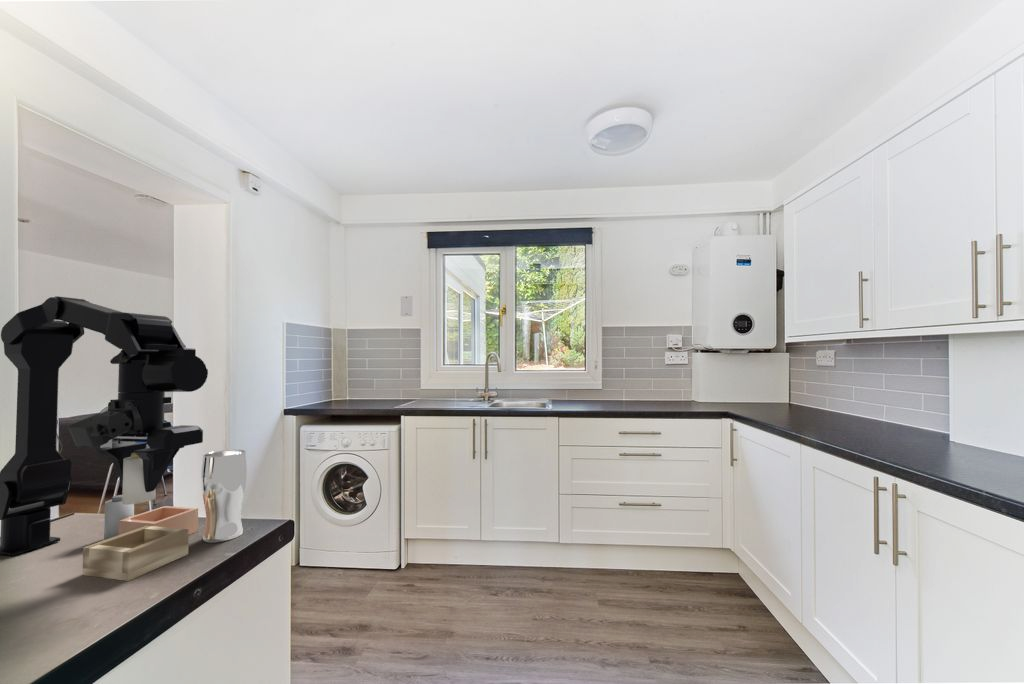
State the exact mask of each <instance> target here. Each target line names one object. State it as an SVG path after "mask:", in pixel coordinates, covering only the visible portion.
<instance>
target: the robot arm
mask: <svg viewBox="0 0 1024 684" xmlns="http://www.w3.org/2000/svg"><path fill="white" fill-rule="evenodd" d="M172 323H173V321H172V320H171V319H170V318H169V317H168V316H164V315H156V314H155V315H154V314H143V313H133V312H122V311H119V310H117V309H116V310H115V309H112V308H109V307H107V306H103V305H100V304H99V305H98V304H95V303H93V302H90V301H88V300H86V299H84V298H76V297H66V296H58V295H57V296H53V297H52V296H51V297H48V298H46V299H45V301H44V302H42V303H41V304H38V305H36V306H33V307H30V308H27V309H25V310H22V311H19V312H17V313H15V315H14V316H13V317H11V318H10V319H9V320H8V321H6V323H5V324H4V325H3V327H2V328H1V330H0V339H1V341H2V343H3V350H4V351H3V353H4V355H5V357H7V359H8V360H9V361H10V362H11V363H12V365H14V367H16V369H17V389H16V392H17V393H16V420H15V424H16V425H15V443H14V444H15V447H14V449H15V450H14V454H13V455H12V457H11V458H10V459H9V460H8V461H7V463H6V464H5V465H4V466H3V468H2V469H1V470H0V555H4V556H16V555H20V554H23V553H26V552H29V551H32V550H34V549H38V548H41V547H45V546H47V545H48V546H49V545H50V544H54V543H57V542H60V541H61V537H59V536H51V525H52V524H51V523H52V522H51V520H52V519H51V512H52V511H51V510H52V509H51V508H53V507H58V506H63V505H66V502H67V499H68V496H69V493H70V489H71V486H72V483H73V479H72V478H73V477H72V465H73V464H72V463H73V462H72V461H71V459H70V458H64V456H63V455H62V454H61V453H60V452H59V451H58V449H57V443H58V442H57V437H58V433H57V432H58V409H59V408H58V407H59V406H58V405H59V403H58V402H59V400H58V399H59V398H58V397H59V372H60V368H61V367H62V366H63V364H64V363H65V362H66V361H67V360H68V359H69V358H70V357H71V355H72V353H73V348H74V343H76V342H77V341H78V340H79V339H80V338H81V337H82V336H84V335H85V329H87V330H91V331H94V332H96V333H100V334H102V335H104V340H105V341H106V342H107V343H109V344H111V345H112V346H114V347H116V348H118V349H120V350H121V351H120V352H119V353H118V354H116V355H115V356H113V357H112V358H111V359H110V361H109V362H110V364H112V365H118V379H117V380H118V381H117V382H118V385H117V398H116V399H110V401H109V402H108V403H107V410H105V411H102V412H100V413H97V414H94V415H91V416H89V417H86V418H84V419H82V420H79V421H77V422H74V423H72V424H70V425H68V426H67V428H68V430H69V433H70V435H71V437H72V440H73V443H74V445H75V447H85V448H86V447H89V448H94V451H95V452H96V453H101V454H102V455H103V456H105V457H107V458H109V459H110V460H111V462H112V464H113V466H114V468H115V471H116V473H117V476H118V479H119V480H120V483H121V486H122V487H123V459H124V458H127V457H131V453H135V454H137V455H138V456H139V457H140V458H141V459H142V460H143V473H144V485H145V491H146V492H151V491H154V490H155V488H156V489H157V487H158V486H159V485H158V484H159V483H160V481H161V480H162V478H163V477H164V475H165V473H166V471H167V469H168V467H169V466H170V464H171V463H172V461H173V460H174V458H175V456H176V455H177V454H178V452H179V451H180V449H183V448H185V447H186V446H192V445H196V444H202V443H203V442H204V430H203V429H202V428H201V427H200V426H199V425H189V424H188V425H182V424H181V425H173V426H172V425H171V424H172V422H171V421H165V405H167V404H171V403H172V397H171V396H165V395H166V393H178V392H179V393H180V392H181V393H182V392H183V393H186V392H187V393H188V392H189V393H191V392H195V391H197V390H200V389H202V387H203V386H204V384H205V383H206V382H207V378H208V374H209V370H208V368H207V366H206V363H205V362H204V361H203V359H201V358H200V357H199V356H196V355H197V354H196V351H197V349H196V348H194V347H186V345H185V343H184V342H183V340H182V338H181V336H180V335H179V334H178V332H177V329H176V328H175V327H174V325H173V324H172ZM97 447H98V448H97Z"/></svg>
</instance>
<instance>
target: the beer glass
mask: <svg viewBox="0 0 1024 684" xmlns="http://www.w3.org/2000/svg"><path fill="white" fill-rule="evenodd" d="M246 452H247V451H246V450H245V449H226V450H225V449H224V450H218V451H217V450H216V451H211V452H210V451H209V452H207V453H204V454H203V455H202V464H201V475H200V488H201V496H202V501H203V505H204V511H205V528H204V531H203V535H202V540H203V542H205V543H208V544H209V543H210V544H214V543H221V542H222V543H223V542H226V541H230V540H234V539H236V538H239V537H240V536H241V535H243V532H244V529H243V524H242V517H241V515H242V513H241V512H242V504H243V500H244V496H245V492H246V485H247V474H248V473H247V455H246Z"/></svg>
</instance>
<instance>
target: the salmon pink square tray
mask: <svg viewBox="0 0 1024 684" xmlns="http://www.w3.org/2000/svg"><path fill="white" fill-rule="evenodd" d="M144 526H156V527H167V528H178V529H189V535H192V534H194V533H197V532H198V531H199V528H198V527H199V508H196V507H195V508H194V507H187V506H186V507H182V506H171V505H163V506H161V507H157V508H154V509H151V510H147V511H144V512H141V513H139V514H134V516H132V517H129V518H125V519H122V520H119V530H118V535H121V534H124V533H127V532H130V531H132V530H135V529H138V528H141V527H144Z"/></svg>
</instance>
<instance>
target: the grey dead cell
mask: <svg viewBox="0 0 1024 684" xmlns="http://www.w3.org/2000/svg"><path fill="white" fill-rule="evenodd" d="M132 516H135V504H130V505H125V504H122V494H118V495H115V496H112V497H111V499H109V500H107V501H105V502H104V523H103V524H104V527H103V541H104V540H106V539H109V538H112V537H115V536H118V530H119V520H122V519H125V518H129V517H132Z"/></svg>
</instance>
